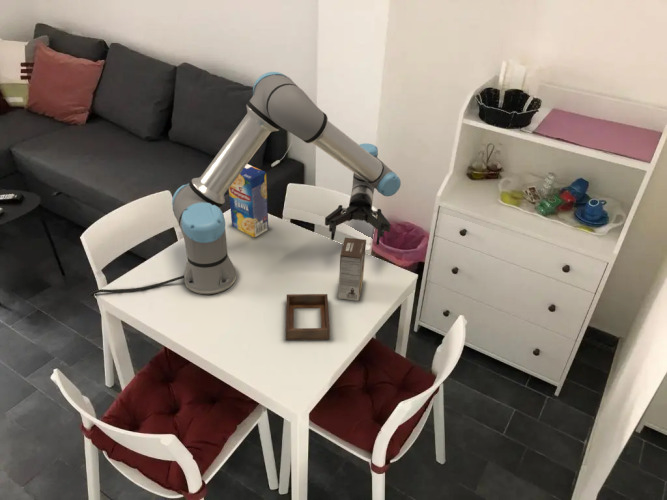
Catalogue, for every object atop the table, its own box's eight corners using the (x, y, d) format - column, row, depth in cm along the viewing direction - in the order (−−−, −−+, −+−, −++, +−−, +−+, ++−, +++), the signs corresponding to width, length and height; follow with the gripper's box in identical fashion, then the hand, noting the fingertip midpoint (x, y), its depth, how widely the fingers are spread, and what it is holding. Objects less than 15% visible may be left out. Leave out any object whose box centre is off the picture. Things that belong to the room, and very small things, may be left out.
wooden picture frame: (286, 340, 144) (285, 330, 142) (286, 303, 156) (286, 294, 154) (329, 339, 145) (329, 329, 143) (327, 303, 157) (327, 293, 155)
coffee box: (342, 279, 166) (344, 236, 156) (363, 282, 165) (366, 238, 156) (337, 298, 158) (339, 254, 149) (359, 301, 158) (363, 257, 148)
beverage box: (246, 218, 192) (242, 161, 179) (268, 229, 187) (266, 172, 174) (231, 226, 188) (226, 168, 175) (254, 237, 182) (251, 179, 169)
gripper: (397, 216, 179) (395, 253, 162) (323, 208, 181) (313, 244, 164) (400, 196, 175) (398, 232, 158) (323, 189, 177) (313, 223, 160)
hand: (355, 238), depth 161 cm, fingers open, 13 cm apart
